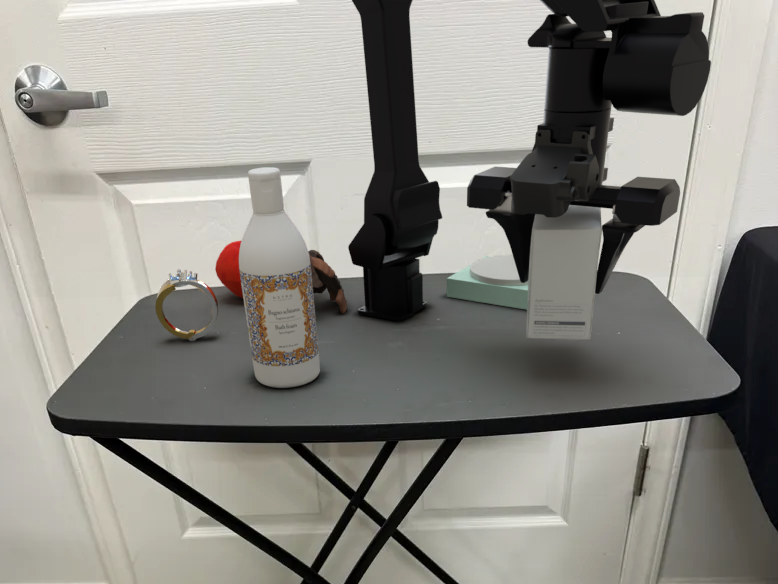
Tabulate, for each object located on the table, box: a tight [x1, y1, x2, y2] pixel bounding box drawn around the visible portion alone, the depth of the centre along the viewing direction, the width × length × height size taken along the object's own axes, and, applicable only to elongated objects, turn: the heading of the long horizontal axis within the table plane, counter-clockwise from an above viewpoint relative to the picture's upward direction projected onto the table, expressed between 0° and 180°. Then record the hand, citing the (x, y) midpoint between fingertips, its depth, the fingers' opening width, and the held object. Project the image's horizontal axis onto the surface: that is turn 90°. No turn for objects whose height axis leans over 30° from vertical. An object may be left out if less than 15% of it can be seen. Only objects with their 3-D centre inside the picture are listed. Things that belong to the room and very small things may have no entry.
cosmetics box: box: [525, 205, 603, 341], centre depth 75 cm, size 10×6×10 cm, turn 167°
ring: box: [154, 268, 219, 342], centre depth 89 cm, size 7×3×8 cm, turn 92°
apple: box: [214, 240, 243, 299], centre depth 101 cm, size 8×8×7 cm
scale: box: [446, 254, 528, 311], centre depth 100 cm, size 13×11×3 cm
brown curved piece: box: [308, 249, 348, 314], centre depth 98 cm, size 12×10×8 cm
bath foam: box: [239, 166, 321, 389], centre depth 76 cm, size 7×7×20 cm
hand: (560, 287), depth 77 cm, fingers closed on cosmetics box, 7 cm apart
